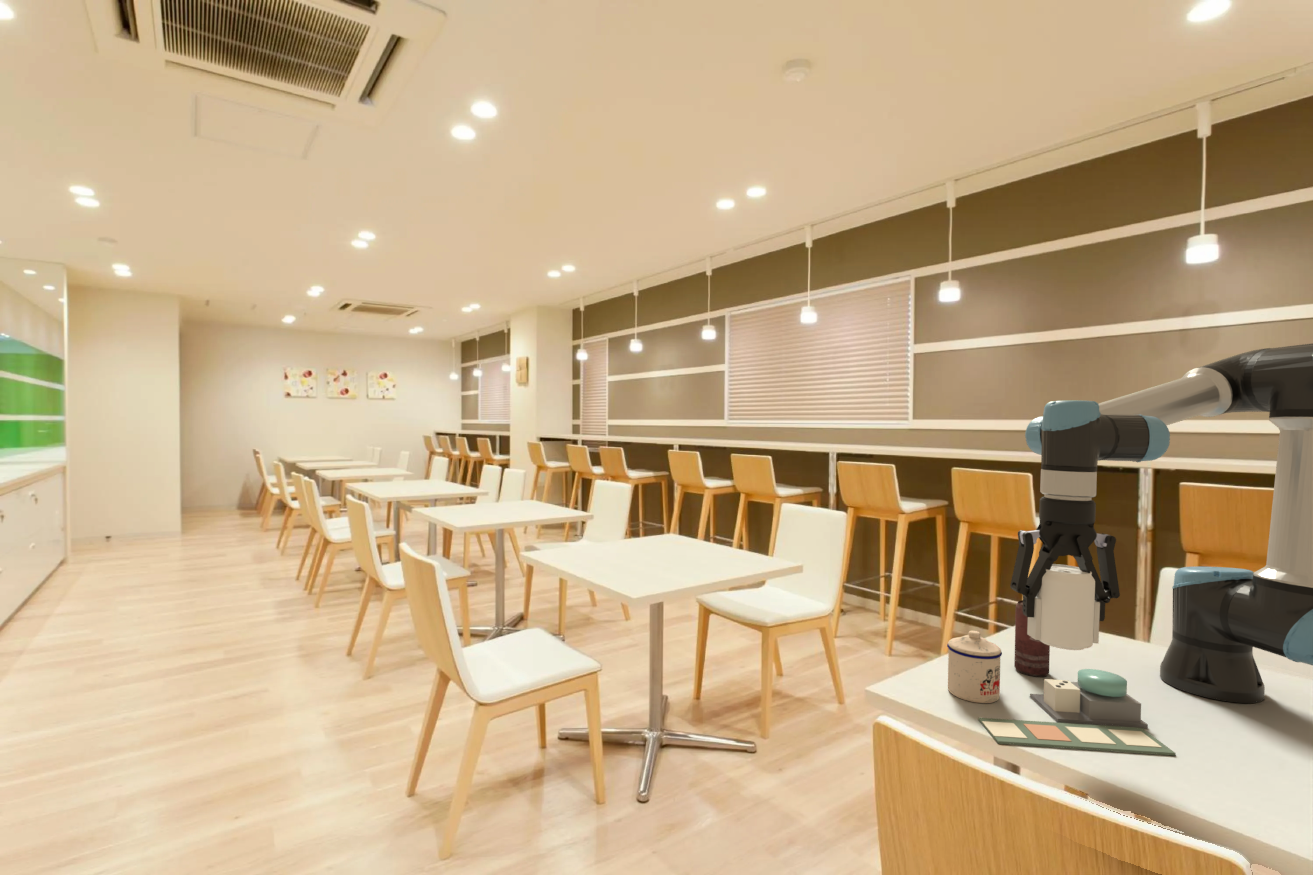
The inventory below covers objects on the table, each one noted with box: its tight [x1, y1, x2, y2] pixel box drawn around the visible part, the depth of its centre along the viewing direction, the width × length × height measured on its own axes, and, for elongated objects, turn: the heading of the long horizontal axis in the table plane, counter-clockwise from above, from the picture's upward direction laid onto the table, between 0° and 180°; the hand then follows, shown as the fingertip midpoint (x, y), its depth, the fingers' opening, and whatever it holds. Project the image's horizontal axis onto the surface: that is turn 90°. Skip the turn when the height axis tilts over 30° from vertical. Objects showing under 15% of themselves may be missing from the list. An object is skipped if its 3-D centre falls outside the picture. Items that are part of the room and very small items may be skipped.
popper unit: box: [1029, 678, 1149, 729], centre depth 110 cm, size 14×10×5 cm
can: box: [1014, 599, 1051, 678], centre depth 128 cm, size 6×6×14 cm
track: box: [977, 717, 1177, 757], centre depth 101 cm, size 26×8×1 cm, turn 83°
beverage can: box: [1036, 563, 1095, 651], centre depth 101 cm, size 8×8×12 cm
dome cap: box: [1077, 668, 1128, 697], centre depth 110 cm, size 7×7×5 cm
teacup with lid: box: [946, 630, 1003, 704], centre depth 118 cm, size 12×9×12 cm
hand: (1062, 638), depth 101 cm, fingers closed on beverage can, 8 cm apart
